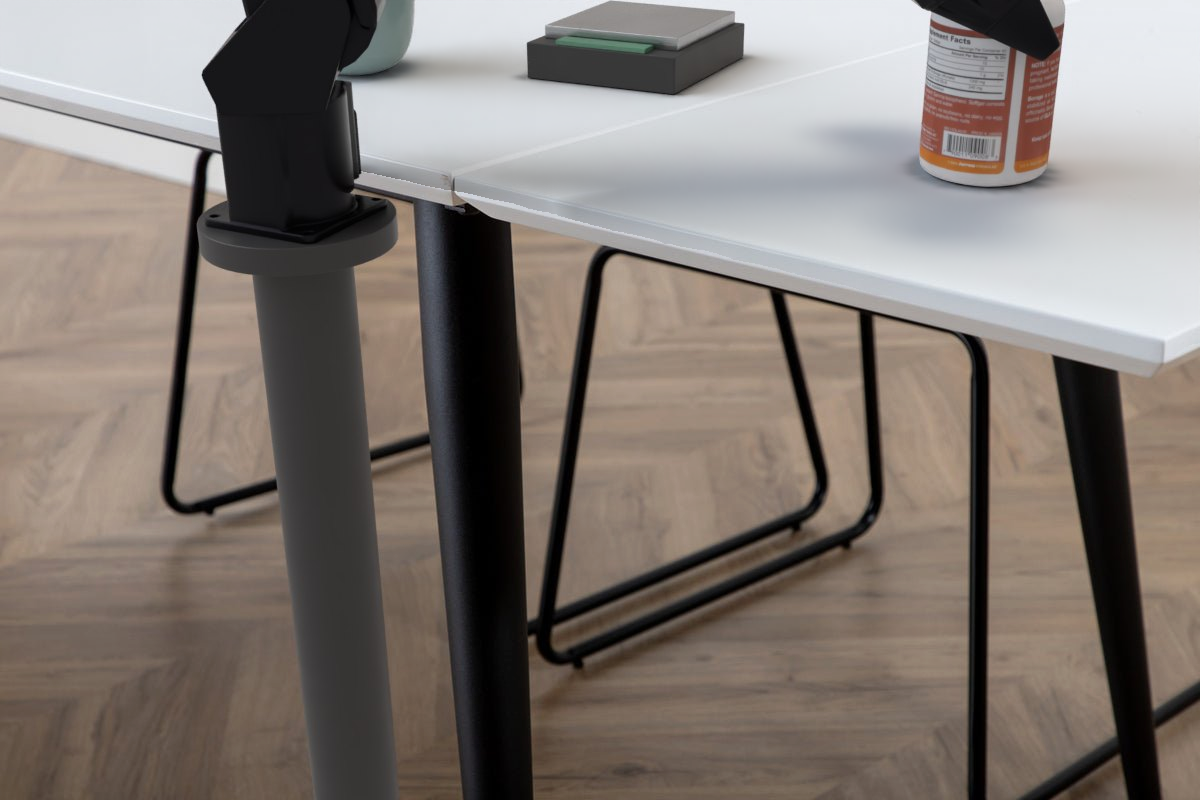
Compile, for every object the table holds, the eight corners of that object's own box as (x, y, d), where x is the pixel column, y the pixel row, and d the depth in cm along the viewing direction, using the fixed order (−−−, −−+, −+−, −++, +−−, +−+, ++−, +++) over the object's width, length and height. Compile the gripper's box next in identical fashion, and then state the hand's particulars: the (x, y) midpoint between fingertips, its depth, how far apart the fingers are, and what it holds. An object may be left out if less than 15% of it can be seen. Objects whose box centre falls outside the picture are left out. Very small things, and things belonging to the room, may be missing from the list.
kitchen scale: (674, 94, 86) (675, 43, 85) (527, 77, 90) (525, 29, 89) (743, 57, 95) (745, 10, 94) (606, 43, 99) (606, -2, 98)
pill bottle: (1012, 150, 75) (1039, -74, 71) (1068, 185, 70) (1101, -55, 65) (898, 157, 74) (917, -70, 70) (946, 193, 69) (970, -50, 64)
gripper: (1014, -370, 53) (1253, -62, 59) (895, -355, 70) (1089, -116, 75) (790, -139, 56) (1036, 134, 62) (727, -177, 73) (925, 40, 79)
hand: (1024, 35), depth 69 cm, fingers open, 7 cm apart
